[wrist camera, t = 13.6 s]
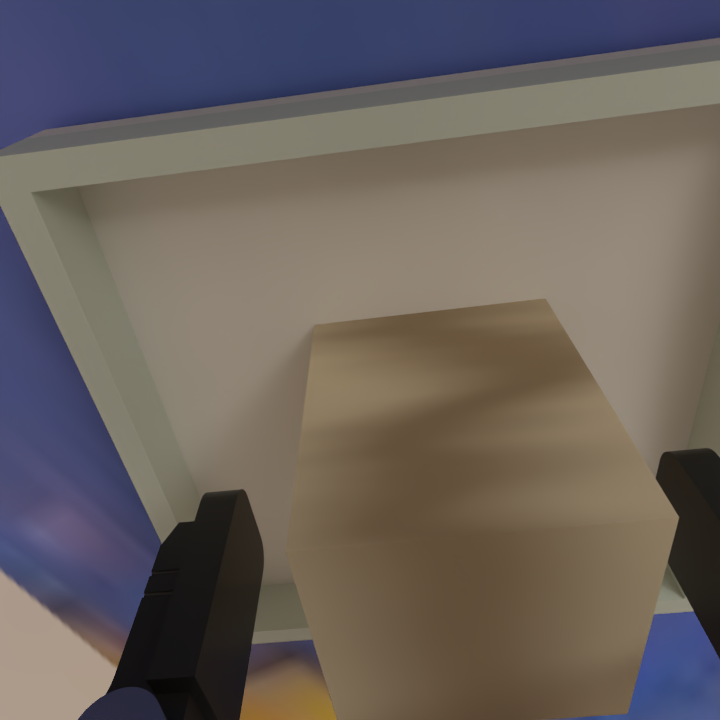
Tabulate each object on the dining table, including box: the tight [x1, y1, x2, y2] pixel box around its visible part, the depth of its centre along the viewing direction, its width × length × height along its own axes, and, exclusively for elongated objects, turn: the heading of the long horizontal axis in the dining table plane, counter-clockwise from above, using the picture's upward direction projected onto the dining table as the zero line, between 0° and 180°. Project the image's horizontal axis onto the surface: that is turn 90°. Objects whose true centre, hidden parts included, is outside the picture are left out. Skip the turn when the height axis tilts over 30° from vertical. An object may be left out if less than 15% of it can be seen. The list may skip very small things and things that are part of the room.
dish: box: [0, 38, 720, 644], centre depth 13 cm, size 14×14×2 cm
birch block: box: [286, 298, 679, 720], centre depth 11 cm, size 5×5×6 cm
